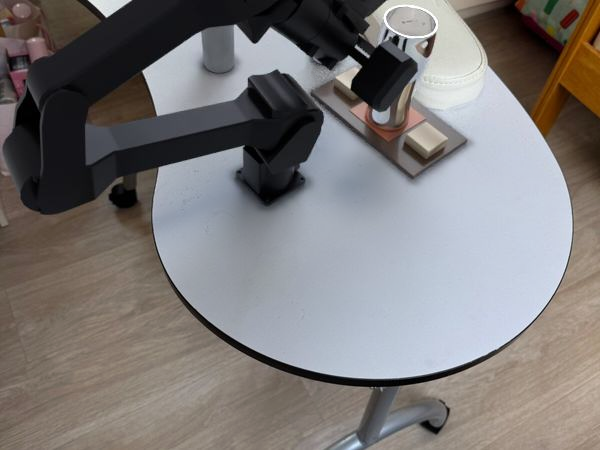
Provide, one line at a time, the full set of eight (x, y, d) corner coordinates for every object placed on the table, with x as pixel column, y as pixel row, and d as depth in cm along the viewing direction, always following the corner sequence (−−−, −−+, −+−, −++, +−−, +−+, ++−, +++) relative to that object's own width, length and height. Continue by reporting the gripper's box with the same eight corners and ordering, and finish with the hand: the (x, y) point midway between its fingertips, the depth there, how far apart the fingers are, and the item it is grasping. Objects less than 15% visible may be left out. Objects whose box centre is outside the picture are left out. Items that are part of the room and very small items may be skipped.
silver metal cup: (355, 124, 80) (374, 29, 67) (370, 93, 84) (390, -3, 71) (404, 139, 78) (433, 45, 66) (417, 107, 82) (446, 13, 70)
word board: (412, 179, 75) (415, 168, 74) (310, 94, 84) (311, 82, 82) (466, 142, 80) (471, 131, 78) (365, 65, 88) (367, 53, 87)
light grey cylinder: (198, 67, 85) (192, 4, 77) (212, 50, 88) (208, -13, 80) (226, 76, 84) (223, 14, 76) (239, 59, 87) (238, -4, 79)
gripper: (427, -12, 50) (474, 49, 64) (294, -102, 58) (360, -31, 72) (347, 93, 54) (407, 131, 67) (231, -6, 62) (305, 45, 75)
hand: (369, 64), depth 70 cm, fingers open, 9 cm apart
